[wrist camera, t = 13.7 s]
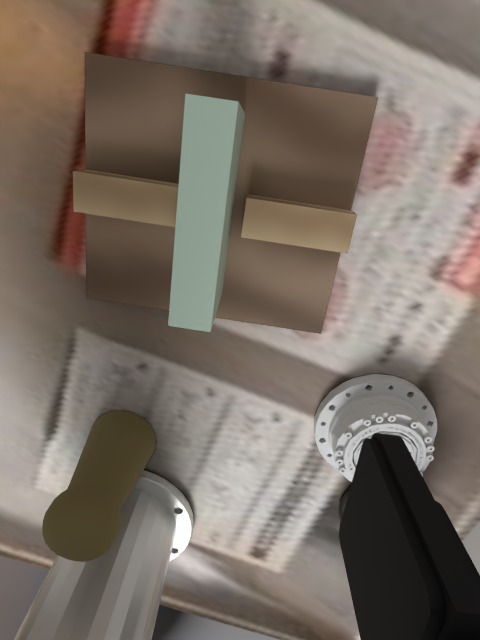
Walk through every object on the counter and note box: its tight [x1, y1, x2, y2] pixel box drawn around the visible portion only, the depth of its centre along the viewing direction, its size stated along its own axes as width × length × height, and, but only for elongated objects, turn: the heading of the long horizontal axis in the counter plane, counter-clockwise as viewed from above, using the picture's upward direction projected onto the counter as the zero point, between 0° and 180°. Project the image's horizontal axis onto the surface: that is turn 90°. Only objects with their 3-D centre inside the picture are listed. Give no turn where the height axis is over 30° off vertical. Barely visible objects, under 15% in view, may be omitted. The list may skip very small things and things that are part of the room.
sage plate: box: [168, 94, 245, 332], centre depth 25 cm, size 12×2×7 cm, turn 172°
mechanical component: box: [314, 374, 437, 482], centre depth 33 cm, size 10×4×10 cm
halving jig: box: [73, 52, 378, 334], centre depth 27 cm, size 16×18×3 cm
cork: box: [42, 410, 157, 562], centre depth 32 cm, size 6×6×11 cm
